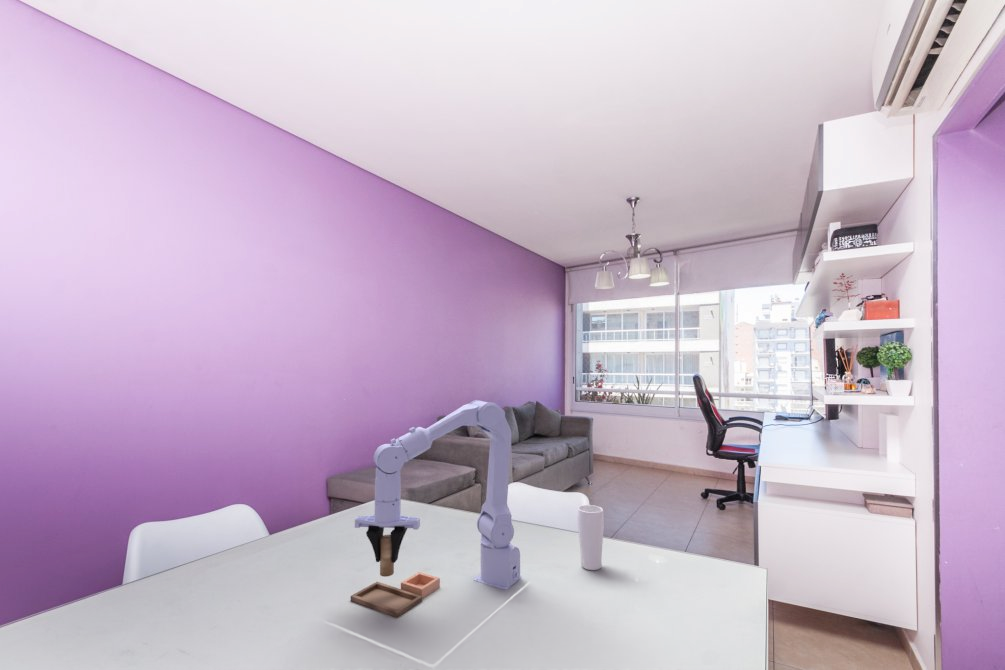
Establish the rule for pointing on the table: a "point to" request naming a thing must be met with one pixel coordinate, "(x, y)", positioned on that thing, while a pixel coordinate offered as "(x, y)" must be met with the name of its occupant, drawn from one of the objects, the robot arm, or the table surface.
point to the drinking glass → (591, 536)
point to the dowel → (386, 556)
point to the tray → (386, 599)
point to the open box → (421, 584)
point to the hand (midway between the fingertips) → (386, 560)
